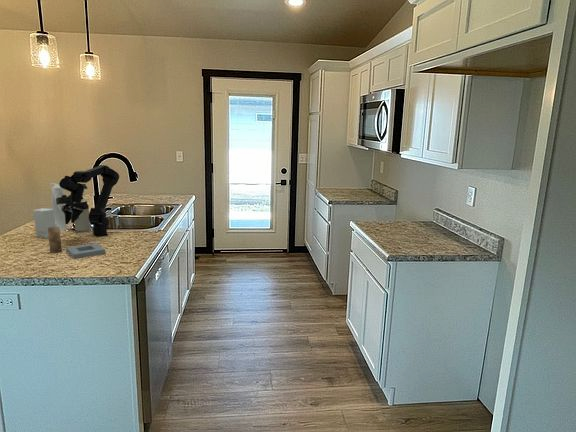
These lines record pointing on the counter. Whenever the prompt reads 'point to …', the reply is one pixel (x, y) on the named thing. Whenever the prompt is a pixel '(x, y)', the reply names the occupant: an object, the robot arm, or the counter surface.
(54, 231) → the walnut peg
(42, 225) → the skincare box
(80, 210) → the robot arm
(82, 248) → the frame
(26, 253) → the counter surface
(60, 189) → the skyscraper
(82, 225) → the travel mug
